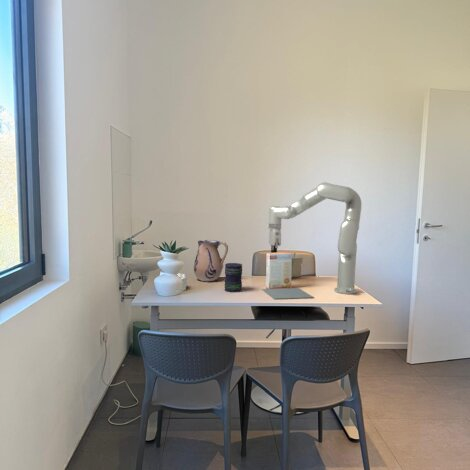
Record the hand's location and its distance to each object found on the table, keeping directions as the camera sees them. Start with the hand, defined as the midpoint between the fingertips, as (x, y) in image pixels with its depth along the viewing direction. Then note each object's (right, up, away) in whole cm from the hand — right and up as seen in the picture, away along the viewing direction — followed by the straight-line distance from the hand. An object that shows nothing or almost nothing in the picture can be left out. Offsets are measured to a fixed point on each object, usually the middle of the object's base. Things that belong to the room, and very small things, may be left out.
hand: (273, 256), depth 252 cm
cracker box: (+2, -18, -8) cm, 20 cm away
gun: (+13, -16, +21) cm, 30 cm away
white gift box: (-57, -18, -18) cm, 62 cm away
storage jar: (-25, -18, -17) cm, 35 cm away
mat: (+5, -20, -23) cm, 30 cm away
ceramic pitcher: (-39, -16, +9) cm, 43 cm away
